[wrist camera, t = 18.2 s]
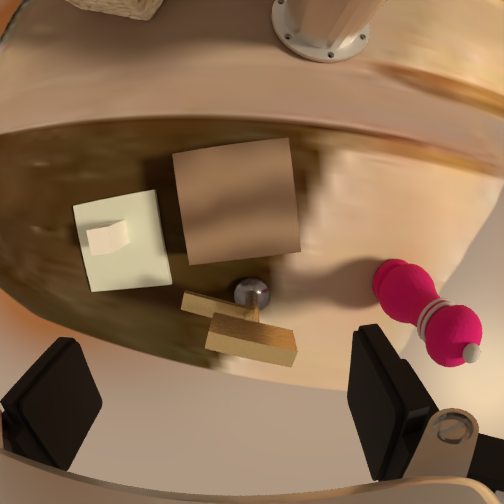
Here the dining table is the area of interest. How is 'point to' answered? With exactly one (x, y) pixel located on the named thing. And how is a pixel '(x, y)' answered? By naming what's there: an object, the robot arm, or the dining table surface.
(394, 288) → the pepper mill
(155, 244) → the cover
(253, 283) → the silver metal disc
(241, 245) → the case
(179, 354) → the dining table surface
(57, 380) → the robot arm
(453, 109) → the dining table surface
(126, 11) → the storage basket
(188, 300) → the key
